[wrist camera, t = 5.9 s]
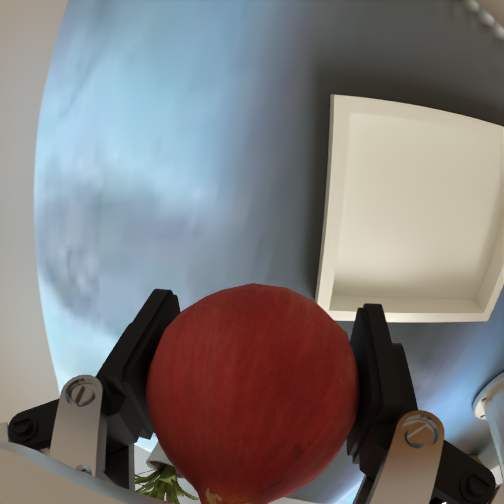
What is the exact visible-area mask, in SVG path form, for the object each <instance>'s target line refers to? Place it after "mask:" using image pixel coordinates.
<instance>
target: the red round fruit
mask: <svg viewBox="0 0 504 504" xmlns="http://www.w3.org/2000/svg"><path fill="white" fill-rule="evenodd" d="M146 398H147V405H148V411H149V415H150V418H151V421H152V424H153V427H154V430H155V433H156V436H157V438H158V441H159V444H160V446H161V448H162V450H163V451H164V453H165V455H166V457H167V458H168V460H169V461H170V462H171V464H172V465H173V466H174V467H175V468H176V470H177V471H178V472H179V473H180V474H181V475H182V476H183V477H184V478H185V479H186V480H187V481H188V482H189V483H190V484H191V485H192V486H193V487H194V489H195V490H196V491H197V493H198V495H199V498H200V501H201V504H268V503H270V502H272V501H274V500H276V499H279V498H282V497H285V496H287V495H289V494H291V493H292V492H294V491H296V490H298V489H299V488H301V487H302V486H304V485H306V484H307V483H309V482H311V481H312V480H314V479H315V478H316V477H317V476H318V475H319V474H320V473H322V472H323V471H324V470H325V469H326V468H327V467H328V466H329V464H330V463H331V462H332V461H333V459H334V458H335V457H336V456H337V454H338V453H339V451H340V449H341V447H342V445H343V444H344V442H345V440H346V438H347V436H348V434H349V432H350V430H351V428H352V426H353V424H354V422H355V420H356V416H357V412H358V408H359V403H360V378H359V373H358V369H357V365H356V361H355V357H354V354H353V351H352V348H351V345H350V342H349V339H348V336H347V333H346V332H345V331H344V330H343V329H342V328H341V327H340V326H339V325H338V324H337V323H336V322H335V321H334V320H333V319H332V318H331V317H330V316H329V315H328V313H327V312H326V311H325V310H324V309H322V308H321V307H320V306H319V305H318V304H317V303H316V302H315V301H313V300H311V299H308V298H306V297H304V296H302V295H300V294H298V293H296V292H294V291H292V290H290V289H288V288H283V287H275V286H268V285H261V284H254V283H252V284H247V285H243V286H238V287H234V288H229V289H225V290H221V291H218V292H216V293H214V294H211V295H209V296H206V297H204V298H203V299H201V300H199V301H198V302H196V303H195V304H193V305H191V306H190V307H188V308H186V309H185V310H183V311H182V312H180V314H179V315H178V316H177V317H176V318H175V319H174V320H173V321H172V322H171V324H170V325H169V326H168V327H167V328H166V329H165V331H164V333H163V335H162V338H161V340H160V342H159V344H158V347H157V349H156V351H155V354H154V356H153V359H152V362H151V364H150V367H149V370H148V373H147V384H146Z"/></svg>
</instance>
